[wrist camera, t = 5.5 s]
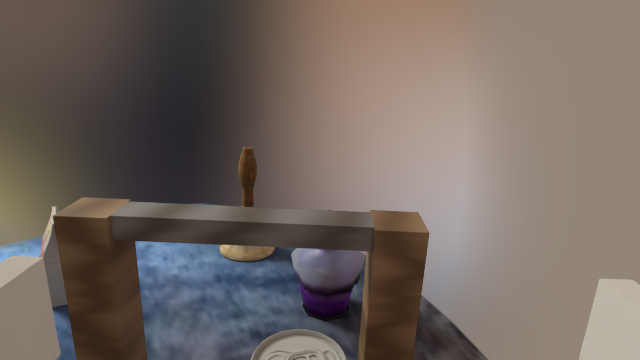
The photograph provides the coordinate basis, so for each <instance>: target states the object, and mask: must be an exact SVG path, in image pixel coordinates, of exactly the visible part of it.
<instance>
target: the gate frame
mask: <svg viewBox="0 0 640 360" xmlns="http://www.w3.org/2000/svg"><path fill="white" fill-rule="evenodd" d="M53 221H54V227H55V233H56V239H57V245H58V251H59V257H60V263H61V269H62V275H63V281H64V287H65V293H66V299H67V305H68V311H69V317H70V323H71V329H72V335H73V341H74V347H75V353H76V359H77V360H147V353H146V344H145V334H144V324H143V315H142V305H141V295H140V286H139V276H138V266H137V257H136V247H135V241H152V242H174V243H196V244H218V245H240V246H263V247H285V248H307V249H329V250H351V251H367V253H366V265H365V277H364V289H363V301H362V313H361V325H360V337H359V350H358V360H413V353H414V345H415V337H416V330H417V322H418V315H419V307H420V300H421V291H422V284H423V277H424V269H425V261H426V254H427V246H428V239H429V231H428V230H427V228H426V226H425V224H424V222H423V220H422V219H421V217H420V215H419V213H418V212H398V211H375V210H370V212H348V211H324V210H303V209H280V208H258V207H236V206H214V205H191V204H169V203H147V202H146V203H145V202H131V200H128V199H106V198H84V197H83V198H81V199H80V200H78V201H76V202H75V203H73V204H71V205H70V206H68V207H66V208H65V209H63V210H61V211H60V212H58V213H56V214H55V215H53Z"/></svg>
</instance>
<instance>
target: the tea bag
mask: <svg viewBox="0 0 640 360" xmlns="http://www.w3.org/2000/svg"><path fill="white" fill-rule="evenodd" d="M58 212H59V211H58V209H57V207H56V206H55V208H54V207H52V213H51V217H50V220H49V223H48V225H47V228H46V230H45V233H44V235H43V238H42V247H41V257H43V259H44V264H45V270H46V276H47V281H48V287H49V292H50V298H51V304H52V308H53V307H57V306H62V305H66V304H67V299H66V293H65V287H64V281H63V275H62V269H61V263H60V257H59V251H58V245H57V239H56V233H55V227H54V221H53V215H55V214H56V213H58Z"/></svg>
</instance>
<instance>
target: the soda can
mask: <svg viewBox="0 0 640 360" xmlns="http://www.w3.org/2000/svg"><path fill="white" fill-rule="evenodd" d="M251 360H346V356H345V354H344V352H343V350H342V349H341V347H340V346H339V345H338V344H337V343H336V342H335V341H334V340H332V339H331V338H329V337H328V336H326V335H324V334H321V333H318V332H315V331H310V330H300V329H299V330H287V331H283V332H279V333H277V334H274V335H272V336H270V337H268V338H267V339H265V340H264V341H263V342H262V343H260V344H259V346H258V347H257V348H256V349H255V351H254V353H253V355H252V358H251Z"/></svg>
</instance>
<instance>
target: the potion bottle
mask: <svg viewBox="0 0 640 360" xmlns="http://www.w3.org/2000/svg"><path fill="white" fill-rule="evenodd" d="M326 211H327V210H326ZM328 211H331V210H328ZM291 256H292V261H293V265H294V270H295V275H296V277H297V279H298V280H299V285H300V289H301V294H302V298H303V303H304V304H303V305H302V306H303V308H304V309H305V311H306V313H307V314H308V316H311V317H314V318H318V319H321V320H324V321H328V320H332V319H337V318H341V317H343V316H344V314H345V313H346V311H347V309H348V308H349V307H348V302H349V299H350V295H351V292H352V289H353V287H354V285H355V284H357V282H358V281H359V278H360V272H361V269H362V266H363V263H364V260H365V256H364V255H363V254H362V253H361V252H360V251H351V250H329V249H307V248H297V249H296V250H295V251H293V252H292V253H291Z"/></svg>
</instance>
